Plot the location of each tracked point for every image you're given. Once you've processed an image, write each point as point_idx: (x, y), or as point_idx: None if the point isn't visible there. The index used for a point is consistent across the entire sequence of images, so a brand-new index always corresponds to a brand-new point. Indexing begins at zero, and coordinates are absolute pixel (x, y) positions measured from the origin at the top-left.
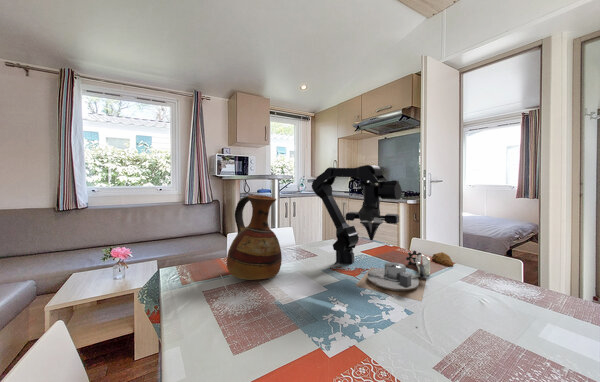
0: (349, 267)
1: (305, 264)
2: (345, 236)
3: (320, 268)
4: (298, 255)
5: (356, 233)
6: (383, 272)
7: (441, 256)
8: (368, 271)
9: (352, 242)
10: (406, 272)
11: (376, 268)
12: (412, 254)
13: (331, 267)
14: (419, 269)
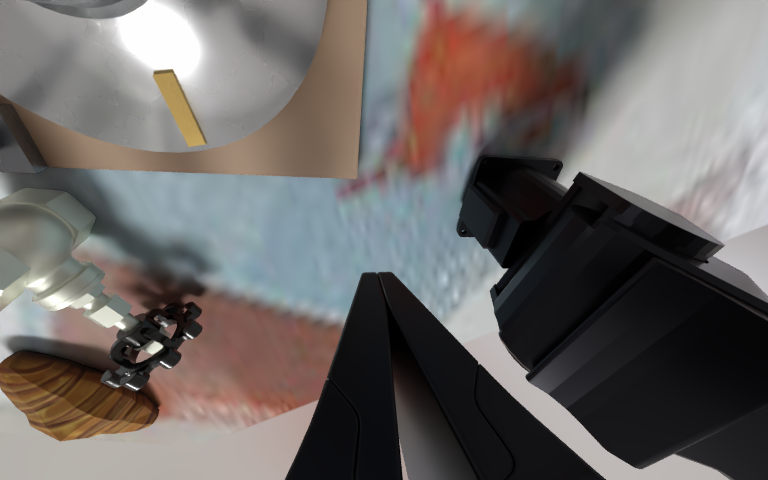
0: (476, 157)
1: (724, 89)
2: (688, 260)
3: (648, 59)
4: (721, 205)
5: (552, 371)
6: (211, 9)
7: (58, 412)
8: (357, 96)
9: (553, 254)
10: (58, 104)
11: (324, 175)
12: (152, 359)
13: (578, 110)
14: (32, 214)
